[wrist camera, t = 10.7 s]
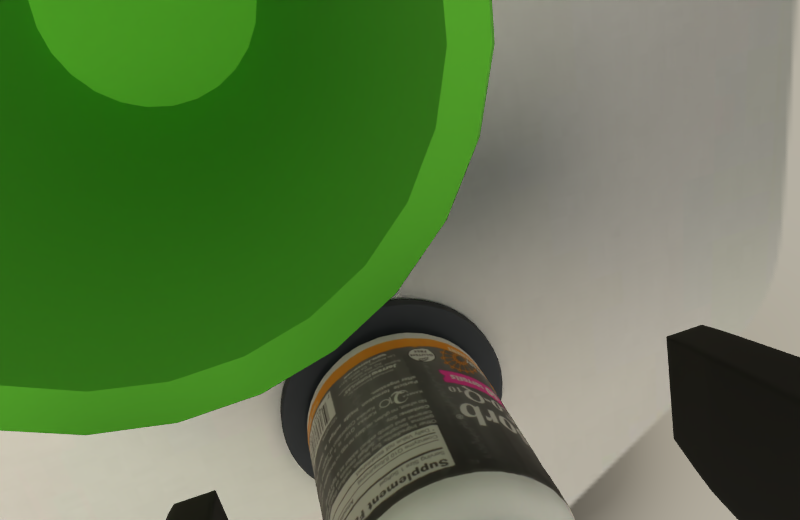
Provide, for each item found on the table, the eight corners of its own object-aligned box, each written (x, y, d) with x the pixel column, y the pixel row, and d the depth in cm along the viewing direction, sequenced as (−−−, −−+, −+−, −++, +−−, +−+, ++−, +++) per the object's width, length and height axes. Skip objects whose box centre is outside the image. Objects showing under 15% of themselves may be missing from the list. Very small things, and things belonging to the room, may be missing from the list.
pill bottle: (515, 399, 24) (701, 670, 15) (382, 511, 24) (485, 839, 15) (407, 288, 21) (552, 532, 12) (261, 414, 22) (299, 738, 13)
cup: (346, 170, 20) (484, 388, 10) (-23, 195, 18) (-304, 496, 8) (334, -222, 16) (530, -483, 6) (-126, -245, 14) (-850, -671, 5)
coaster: (478, 269, 22) (482, 274, 22) (513, 449, 25) (517, 455, 25) (250, 341, 21) (251, 348, 21) (315, 518, 24) (317, 527, 24)
